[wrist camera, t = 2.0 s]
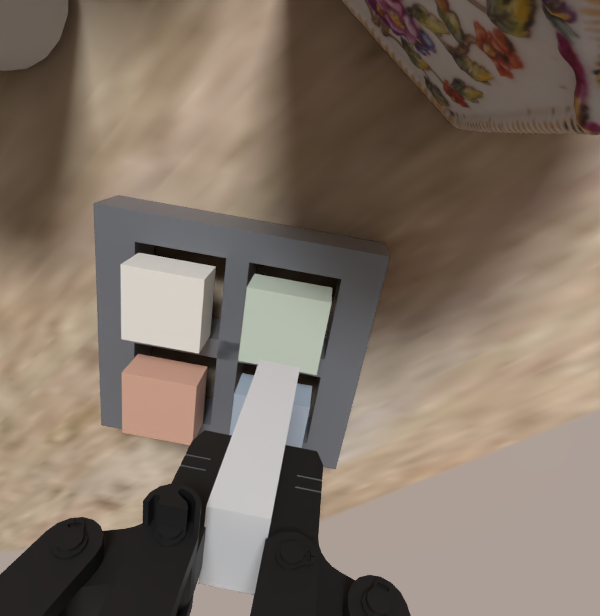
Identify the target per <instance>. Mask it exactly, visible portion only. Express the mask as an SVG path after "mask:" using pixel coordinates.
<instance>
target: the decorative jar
mask: <svg viewBox="0 0 600 616" xmlns="http://www.w3.org/2000/svg"><path fill="white" fill-rule="evenodd" d="M342 2H343V3H344V4H345V5H346V6H347V7H348V9H349V10H350V11H351V12H352V13H353V15H354V16H355V17H356V18H357V19H358V20H359V21H360V22H361V23H362V24H363V25H364V27H365V28H366V29H367V30H368V32H369V33H370V34H371V35H372V36H373V37H374V39H375V40H376V41H377V42H378V43H379V44H380V45H381V47H382V48H383V49H384V50H385V51H386V52H387V53H388V54H389V55H390V56H391V58H392V59H393V60H394V61H395V62H396V63H397V64H398V66H399V67H400V68H401V69H402V70H403V71H404V72H405V73H406V74H407V75H408V76H409V78H410V79H411V80H412V81H413V82H414V83H415V84H416V85H417V86H418V87H419V89H420V90H421V91H422V92H423V93H424V94H425V95H426V96H427V97H428V99H429V100H430V101H431V102H432V103H433V104H434V105H435V107H436V108H437V109H438V110H439V111H440V112H441V113H442V114H443V116H444V117H445V118H446V119H447V120H448V121H449V122H450V123H451V124H452V125H453V126H454V127H455V128H457V129H460V130H470V131H477V132H486V133H487V132H490V133H523V134H524V133H528V134H531V133H536V134H537V133H551V134H557V133H562V134H590V135H598V134H600V0H342Z"/></svg>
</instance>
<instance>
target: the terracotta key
mask: <svg viewBox="0 0 600 616" xmlns="http://www.w3.org/2000/svg"><path fill="white" fill-rule="evenodd" d="M206 378H207V366H201V365H196V364H190V363H185V362H180V361H174V360H169V359H163V358H158V357H153V356H147V355H142V354H138V355H137V356H136V357H135V358H134V359H133V360H132V361H131V362H130V364H129V365H128V366H127V367H126V368H125V369H124V370H123V372H122V433H127V434H132V435H137V436H143V437H148V438H153V439H159V440H164V441H169V442H175V443H180V444H185V445H190V444H191V442H192V440H193V439H195V438H196V437H197V434H198V432H199V430H200V428H201V426H202V423H203V414H204V402H205V390H206Z"/></svg>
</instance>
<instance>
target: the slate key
mask: <svg viewBox="0 0 600 616" xmlns="http://www.w3.org/2000/svg"><path fill="white" fill-rule="evenodd" d="M253 377H254V375H250V374H245V373H242V375H241V378H240V380H239V383H238V385H237V388H236V390H235V393H234V400H233V409H232V417H231V426H230V434H229V435H232V434H233V432H234V429H235V426H236V424H237V421H238V418H239V415H240V413H241V410H242V407H243V404H244V402H245V399H246V396H247V394H248V391H249V388H250V385H251V383H252V380H253ZM311 393H312V386H309V385H304V384H299V383H297V387H296V392H295V397H294V403H293V408H292V413H291V419H290V424H289V429H288V435H287V440H286V445H288V446H293V447H298V448H302V443H303V438H304V434H305V429H306V424H307V419H308V414H309V410H310V402H311Z"/></svg>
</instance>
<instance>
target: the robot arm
mask: <svg viewBox="0 0 600 616" xmlns="http://www.w3.org/2000/svg"><path fill="white" fill-rule="evenodd" d="M299 371H300V367H295V366H289V365H284V364H279V363H274V362H269V361H263V360H260V361H259V364H258V366H257V369H256V372H255V374H254V377H253V380H252V383H251V385H250V388H249V391H248V394H247V396H246V399H245V402H244V404H243V407H242V410H241V413H240V415H239V418H238V421H237V424H236V426H235V429H234V432H233V434H232V435H227V434H222V433H217V432H212V431H207V430H204V431H203V432H202V433H201V434H199V435H198V436H197V437H196V438H195V439H193V440H192V442H191V444H190V446H189V448H188V451H187V453H186V456H185V457H184V459H183V461H182V463H181V466H180V467H179V469H178V471H177V473H176V475H175V477H174V479H173V481H172V483H171V484H168V485H164V486H160V487H158V488H157V489H155V490H153V491H152V492H150V493H149V494H148V496H147V497H146V498H145V499H144V501H143V523H142V524H140V525H137V526H135V527H131V528H126V529H119V530H109V531H102V529H101V526H100V525H99V524H98V523H96V522H95V521H94V520H92V519H88V518H84V517H79V518H70V519H67V520H65V521H62V522H59V523H57V524H56V525H54V526H53V527H52V528H50V529H49V530H47V531H46V532H45V533H44V534H43V535H42V536H41V537H40V538H39V539H38V540H37V541H35V542H34V543H33V544H32V545H31V546H30V547H29V548H28V549H27V550H26V551H25V552H24V553H23V554H22V555H21V556H20V557H18V558H17V559H16V560H15V561H14V562H13V563H12V564H11V565H10V566H9V567H8V568H7V569H6V570H5V571H4V572H3V573H1V574H0V616H189V615H190V612H191V609H192V602H193V593H194V590H195V587H196V584H197V581H198V578H199V584H204V585H209V586H214V587H218V588H224V589H228V590H233V591H238V592H243V593H247V594H252V595H254V599H253V604H252V609H251V614H250V616H410V613H409V610H408V607H407V604H406V602H405V600H404V598H403V596H402V594H401V593H400V591H399V590H398V589H397V588H396V587H395V586H394V585H393V584H392V583H391V582H389V581H387V580H385V579H383V578H382V577H378V576H372V575H367V576H363V577H359V578H358V579H357V580H356V581H355V580H353V579H351V578H350V577H348V576H346V575H344V574H342V573H341V572H339V571H338V570H336V569H335V568H333V567H332V566H331V565H330V564H329V563H328V562H327V561H326V559H325V558H324V556H323V554H322V553H321V550H320V547H319V543H318V532H319V517H320V503H321V488H322V474H323V463H322V461H321V459H320V456H319V454H318V452H317V451H314V450H308V449H303V448H298V447H293V446H288V445H286V440H287V435H288V429H289V424H290V419H291V413H292V408H293V403H294V397H295V392H296V387H297V381H298V376H299Z"/></svg>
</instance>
